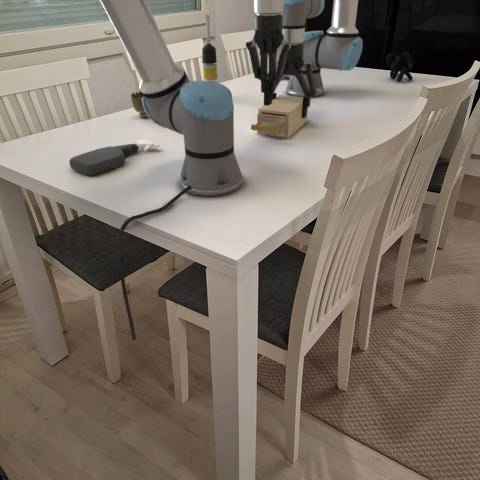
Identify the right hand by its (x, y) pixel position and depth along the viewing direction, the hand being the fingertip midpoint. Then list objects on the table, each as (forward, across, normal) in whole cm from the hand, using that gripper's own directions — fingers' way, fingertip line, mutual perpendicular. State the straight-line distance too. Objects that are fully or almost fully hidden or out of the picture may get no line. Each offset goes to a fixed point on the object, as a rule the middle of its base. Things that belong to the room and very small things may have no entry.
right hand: (288, 115), depth 148 cm
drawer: (+2, 0, +10) cm, 10 cm away
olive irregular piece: (+3, +50, +12) cm, 52 cm away
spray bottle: (+3, +33, +49) cm, 59 cm away
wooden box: (+3, 0, +4) cm, 5 cm away
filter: (+3, +40, -18) cm, 44 cm away
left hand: (-8, 0, +18) cm, 20 cm away
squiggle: (+3, -24, -78) cm, 82 cm away
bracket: (+3, +27, -66) cm, 71 cm away
